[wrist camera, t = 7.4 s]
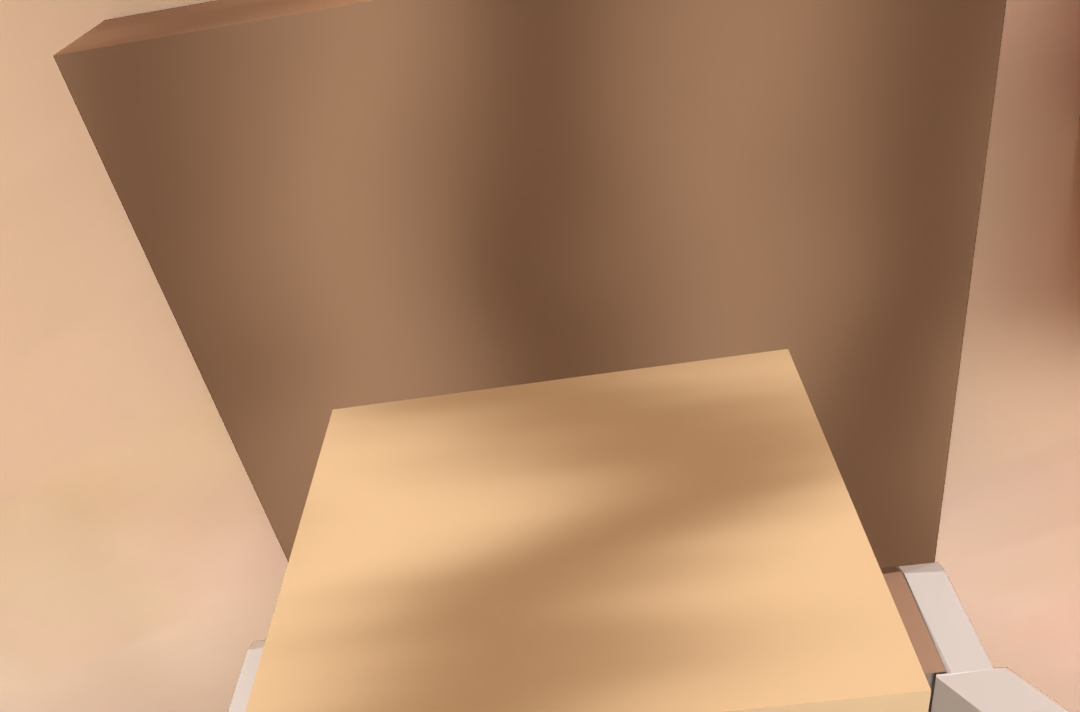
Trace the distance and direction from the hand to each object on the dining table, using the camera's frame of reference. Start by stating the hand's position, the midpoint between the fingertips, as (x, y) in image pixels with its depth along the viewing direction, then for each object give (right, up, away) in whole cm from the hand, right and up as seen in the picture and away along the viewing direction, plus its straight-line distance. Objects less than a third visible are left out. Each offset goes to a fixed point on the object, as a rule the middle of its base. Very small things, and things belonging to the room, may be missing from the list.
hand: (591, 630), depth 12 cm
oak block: (0, +1, +1) cm, 2 cm away
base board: (0, +5, +6) cm, 8 cm away
